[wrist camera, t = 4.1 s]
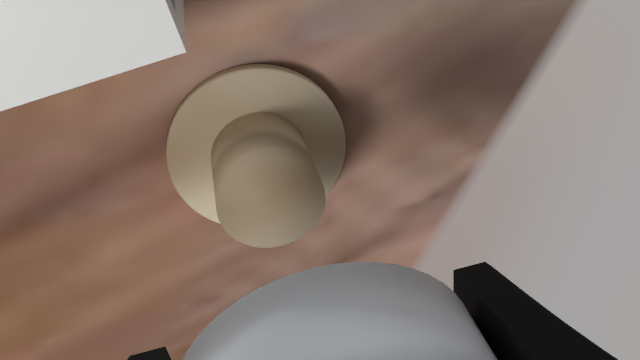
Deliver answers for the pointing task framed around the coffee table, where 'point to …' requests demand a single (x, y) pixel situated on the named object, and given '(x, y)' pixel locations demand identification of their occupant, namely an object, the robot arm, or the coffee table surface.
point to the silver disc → (345, 319)
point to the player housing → (81, 42)
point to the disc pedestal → (257, 152)
